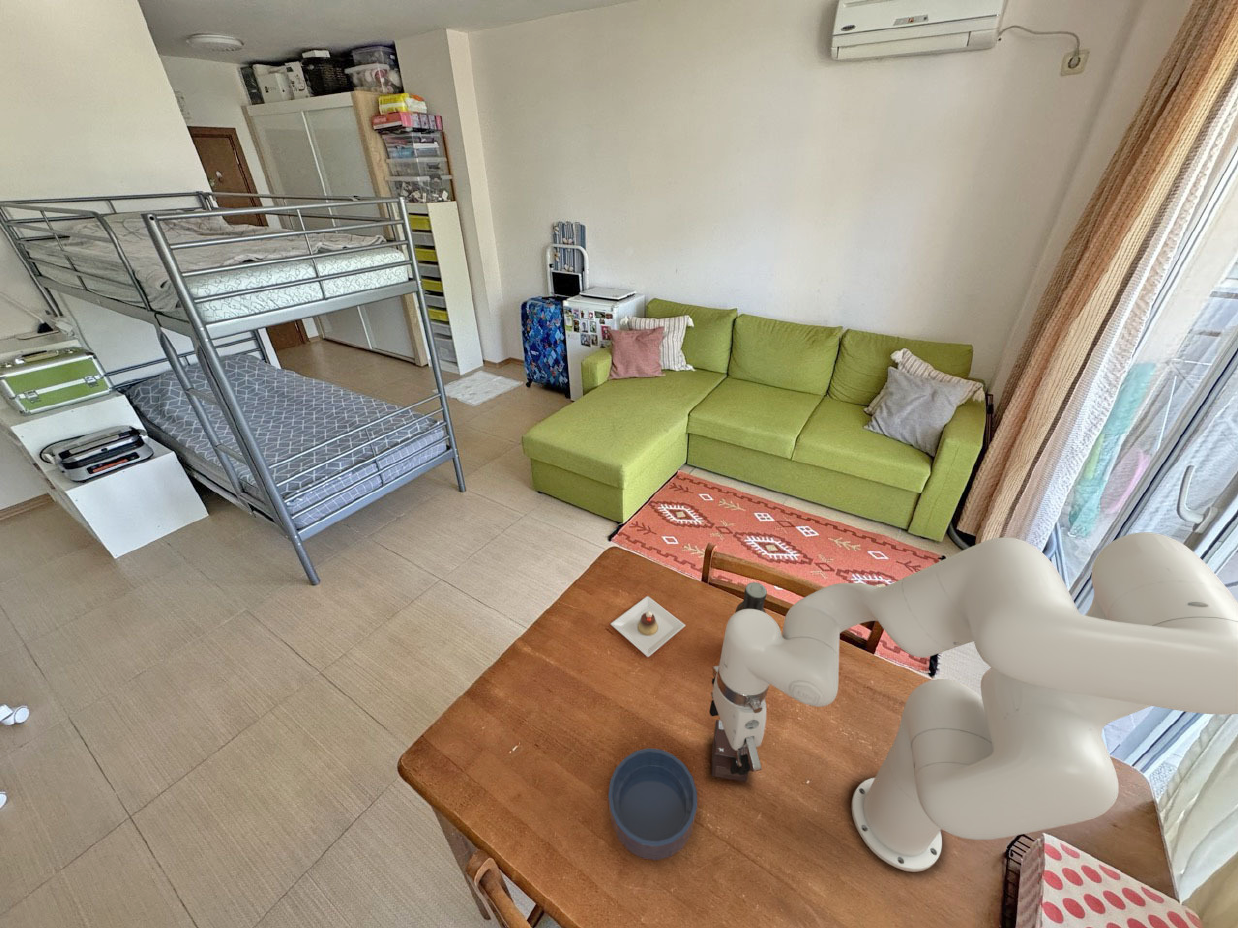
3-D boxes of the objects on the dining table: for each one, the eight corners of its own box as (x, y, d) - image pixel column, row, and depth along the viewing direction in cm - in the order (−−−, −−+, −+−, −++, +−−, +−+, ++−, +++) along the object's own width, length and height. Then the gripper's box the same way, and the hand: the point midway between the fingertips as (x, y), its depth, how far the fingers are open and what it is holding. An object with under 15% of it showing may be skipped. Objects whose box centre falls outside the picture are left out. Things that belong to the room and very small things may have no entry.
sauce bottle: (721, 653, 105) (730, 587, 94) (738, 637, 108) (749, 571, 98) (746, 673, 101) (759, 606, 90) (764, 655, 104) (778, 588, 94)
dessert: (648, 660, 104) (648, 645, 101) (610, 626, 111) (609, 612, 109) (685, 628, 111) (686, 613, 108) (647, 598, 118) (647, 584, 116)
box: (746, 783, 83) (752, 761, 79) (710, 776, 84) (714, 754, 80) (746, 747, 88) (751, 724, 84) (712, 741, 89) (715, 718, 85)
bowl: (680, 757, 87) (681, 740, 84) (706, 849, 76) (709, 833, 73) (603, 774, 85) (602, 757, 82) (618, 871, 74) (617, 855, 71)
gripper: (793, 731, 67) (772, 791, 77) (743, 628, 81) (730, 689, 91) (742, 742, 66) (726, 801, 75) (700, 636, 80) (691, 697, 90)
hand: (728, 740), depth 83 cm, fingers open, 9 cm apart
